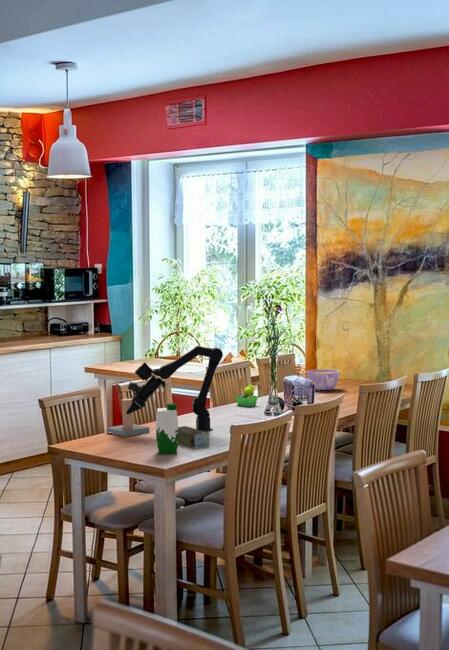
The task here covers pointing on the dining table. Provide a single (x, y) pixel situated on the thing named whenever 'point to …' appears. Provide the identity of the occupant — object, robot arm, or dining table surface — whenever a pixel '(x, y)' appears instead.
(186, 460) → the dining table surface
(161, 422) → the milk carton
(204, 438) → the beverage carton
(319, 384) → the purple round bowl
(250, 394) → the fruit basket
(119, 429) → the plate
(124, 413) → the block
